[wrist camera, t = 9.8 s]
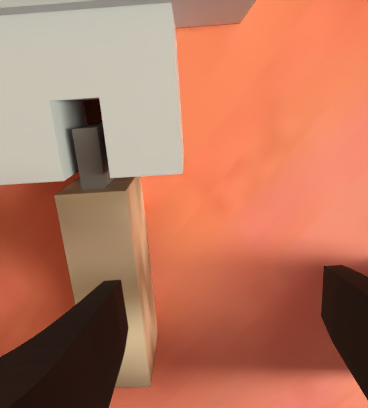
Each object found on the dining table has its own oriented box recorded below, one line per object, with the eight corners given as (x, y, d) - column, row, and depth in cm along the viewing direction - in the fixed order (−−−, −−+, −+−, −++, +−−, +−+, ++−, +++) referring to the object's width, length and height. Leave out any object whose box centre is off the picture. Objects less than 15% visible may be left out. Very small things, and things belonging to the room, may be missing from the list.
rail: (158, 329, 24) (150, 386, 19) (110, 332, 24) (92, 389, 19) (134, 120, 20) (117, 126, 15) (77, 124, 20) (41, 132, 15)
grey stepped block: (241, 152, 20) (263, 173, 14) (-17, 168, 20) (-97, 195, 15) (239, -20, 17) (265, -79, 11) (-59, 4, 18) (-178, -42, 12)
